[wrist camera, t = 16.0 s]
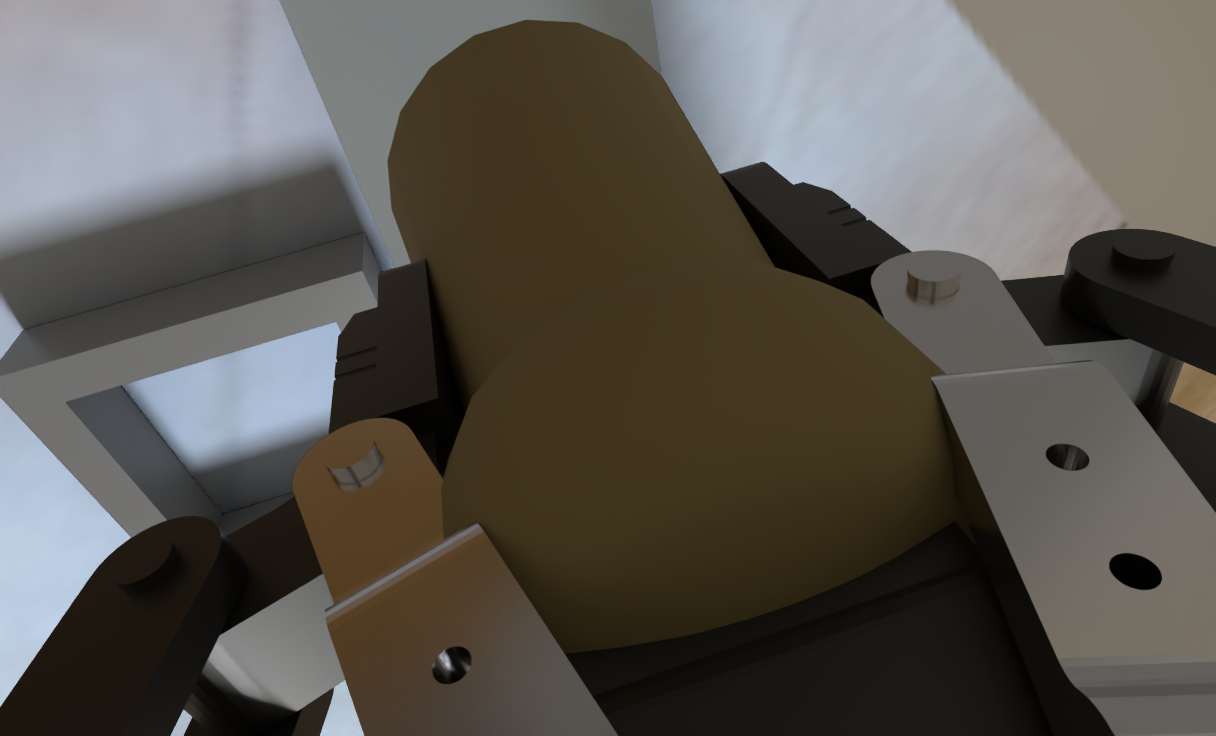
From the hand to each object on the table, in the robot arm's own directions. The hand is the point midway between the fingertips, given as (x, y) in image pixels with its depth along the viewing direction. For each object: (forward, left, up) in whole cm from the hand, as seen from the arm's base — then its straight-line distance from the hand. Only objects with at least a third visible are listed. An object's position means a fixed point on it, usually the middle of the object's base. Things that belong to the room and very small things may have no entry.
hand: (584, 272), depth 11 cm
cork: (0, 0, -4) cm, 4 cm away
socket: (+8, -10, -11) cm, 17 cm away
